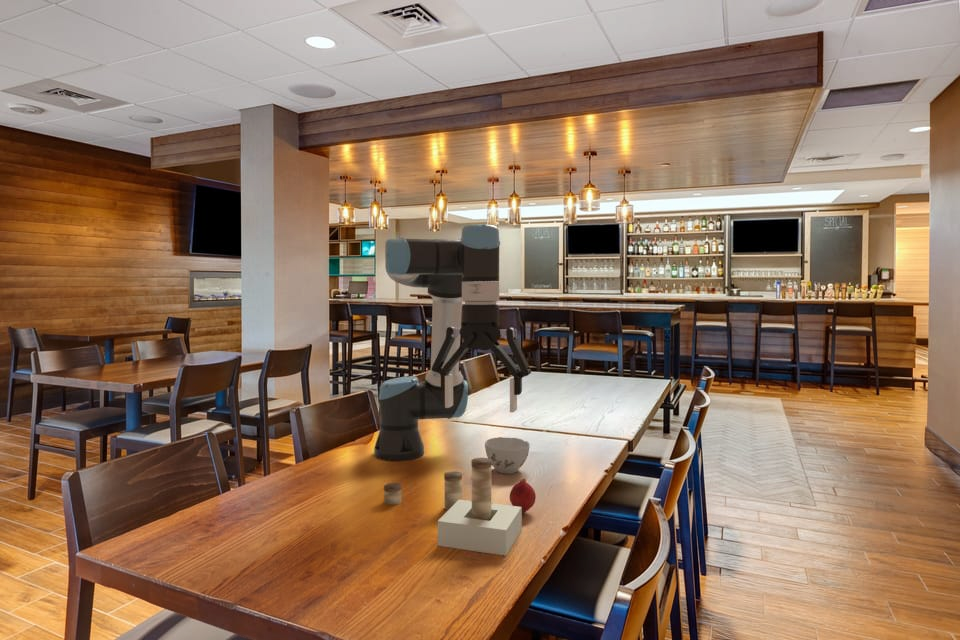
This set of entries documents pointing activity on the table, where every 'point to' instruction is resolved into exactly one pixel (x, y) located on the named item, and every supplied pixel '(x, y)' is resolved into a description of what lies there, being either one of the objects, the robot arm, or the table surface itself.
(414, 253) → the robot arm
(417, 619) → the table surface
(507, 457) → the teacup
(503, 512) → the hole block
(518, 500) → the onion
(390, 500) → the short dowel
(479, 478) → the long dowel
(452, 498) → the medium dowel
